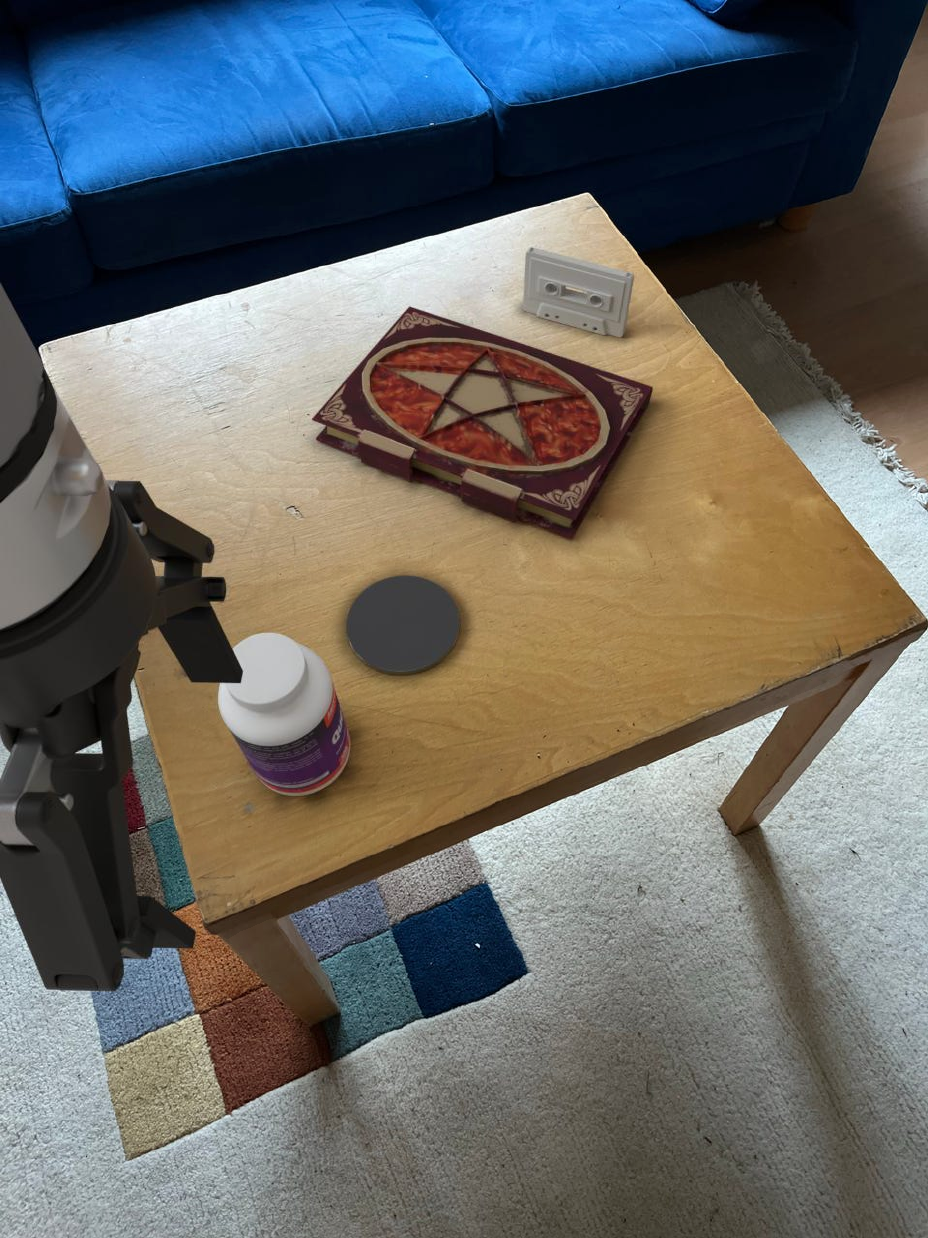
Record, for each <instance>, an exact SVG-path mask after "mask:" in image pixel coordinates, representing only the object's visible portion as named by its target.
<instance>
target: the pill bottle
mask: <svg viewBox="0 0 928 1238" xmlns="http://www.w3.org/2000/svg"><path fill="white" fill-rule="evenodd" d="M232 649H233V651H234V653H235V655H236V657H237V659H238V661H239V664H240V666H241V668H242V670H243V675H242V680H241V683H219V685H218V686H219V687H218V691H217V692H218V693H217V701H218V703H217V704H218V709H219V713H220V715H221V718H222V720H223V722H224V724H225V726H226V727H227V728H228V731H229V732H230V734H231V735H232V737H233V738H234V740H235V742H236V743H237V745H238V747H239V749H240V750H241V752H242V754H243V755H244V757H245V759H246V761H247V762H248V765H249V766H250V768H251V769H252V772H253V773H254V774H255V776H256V777H257V779H259V781H260V782H261V783H262V784H263V785H264V786H265V787H267V788H268V789H269V790H271V791H273V792H275V793H278V794H280V795H284V796H289V797H301V796H307V795H312V794H314V793H317V792H319V791H321V790H323V789H325V788H326V787H328V786H329V785H331V784H332V783H333V782H335V780H336V779H337V778H338V777H339V776H340V775H341V774H342V772H343V771H344V769H345V767H346V765H347V763H348V760H349V757H350V754H351V737H350V732H349V728H348V725H347V723H346V720H345V716H344V713H343V711H342V706H341V704H340V700H339V697H338V695H337V692H336V689H335V686H334V682H333V678H332V676H331V673H330V671H329V667H328V666H327V664H326V663H325V661H324V660H323V659H322V658H321V657H320V656H319V654H317V652H315V651H314V650H312V649H311V648H310V647H307V646H305V645H304V644H301V643H298V642H296V641H295V640H294V639H292V638H291V637H289V636H286V635H285V634H281V633H278V632H262V633H257V634H252V635H251V636H248V637H246V638H244V639H243V640H241V641H239V642H238V643H237V644H236V645H235V646H234V647H232Z"/></svg>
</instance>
